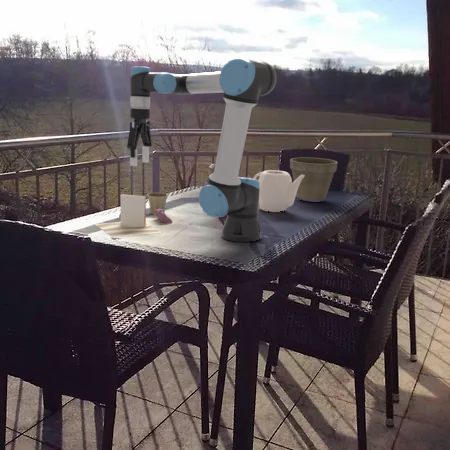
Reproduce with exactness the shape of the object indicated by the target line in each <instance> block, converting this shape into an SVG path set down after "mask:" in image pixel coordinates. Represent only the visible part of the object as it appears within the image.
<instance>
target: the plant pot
mask: <svg viewBox="0 0 450 450" xmlns="http://www.w3.org/2000/svg"><path fill="white" fill-rule="evenodd" d="M289 161H290V165H289V168H290V169H291V173H292V174H291V175H292V179H293V180H292V181H293V182H294V181H295V180H296V179H297V178H298V177H299V176H300V175H305V176H304V178H303V179H302V180H301V183H300V185H299V187H298V190H297V193H296V198H299V199H303V200H322V199H325V200H326V198H327V195H328V191H329V189H330V187H331V183H332V181H333V178H334V174H335V173H336V172H337V170H338V169H337V168H338V161H337V160H333V159H329V158H322V157H321V158H320V157H294V158H293V157H292V158H290V160H289Z"/></svg>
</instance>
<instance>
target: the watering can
mask: <svg viewBox="0 0 450 450" xmlns="http://www.w3.org/2000/svg"><path fill="white" fill-rule="evenodd" d="M304 176H305V175H300V176H299V177H298V178H297V179H296V180H295V181H294V180H292V179H293V177H291V174H290V173H289V172H287V171H284V170H278V169H277V170H275V169H267V170H264V171H259V172H257V173H256V174H254V176H253V178H252V179H257V177H258V181H259V188H260V191H259V205H258V207H259V208H260V210H262V211H263V212H268V211H269V212H270V213H281V212H280V211H283V212H284V210H285V211H286V210H287V208H289V207H290V208H291V207H292V206H293V205H294V202H295V200H296V198H297V195H296V193H297V190H298V187H299V185H300V183H301V180H302V179H303V178H304Z"/></svg>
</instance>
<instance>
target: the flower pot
mask: <svg viewBox="0 0 450 450" xmlns="http://www.w3.org/2000/svg"><path fill="white" fill-rule="evenodd" d="M146 196H147V199H148V203H149V204H148V205H149V212H150V214H151V215H154V216H155V210H156V209H162V210H163V211H164V213H165V212H166V203H167V199H168V196H169V194H168V193H164V192H149V193H147V194H146ZM165 214H166V213H165Z"/></svg>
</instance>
